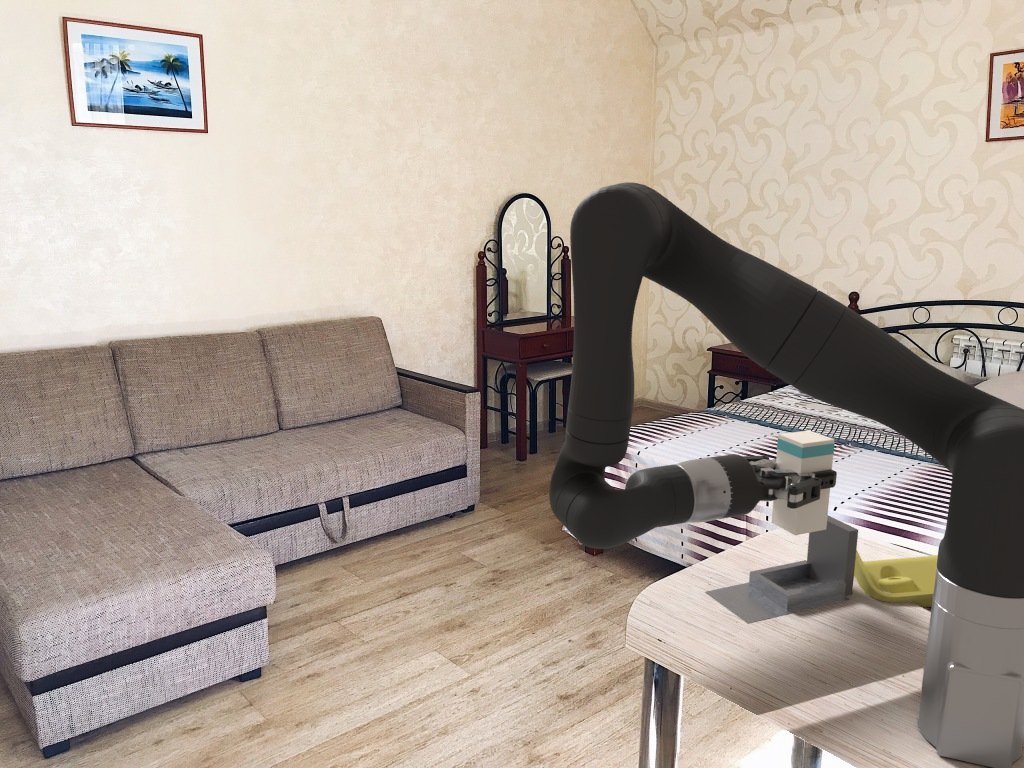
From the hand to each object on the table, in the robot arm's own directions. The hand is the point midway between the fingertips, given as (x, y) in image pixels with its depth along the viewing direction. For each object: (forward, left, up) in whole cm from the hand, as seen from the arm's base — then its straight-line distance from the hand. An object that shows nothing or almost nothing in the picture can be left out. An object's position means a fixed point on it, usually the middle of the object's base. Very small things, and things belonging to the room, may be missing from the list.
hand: (819, 471), depth 109 cm
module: (-2, +2, -7) cm, 7 cm away
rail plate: (-4, +4, -18) cm, 19 cm away
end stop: (+2, -2, -18) cm, 18 cm away
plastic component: (+8, -15, -18) cm, 25 cm away
